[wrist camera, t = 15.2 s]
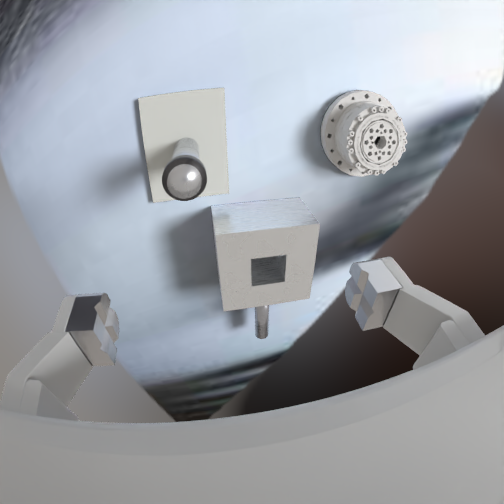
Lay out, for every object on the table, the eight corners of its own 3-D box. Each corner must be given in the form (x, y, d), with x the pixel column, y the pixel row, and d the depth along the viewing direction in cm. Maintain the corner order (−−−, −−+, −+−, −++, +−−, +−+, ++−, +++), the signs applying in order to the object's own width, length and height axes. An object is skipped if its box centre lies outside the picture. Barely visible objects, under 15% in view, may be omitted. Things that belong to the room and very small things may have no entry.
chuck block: (210, 205, 31) (215, 235, 26) (300, 197, 33) (319, 223, 28) (224, 323, 42) (229, 356, 38) (289, 313, 44) (301, 343, 39)
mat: (139, 97, 23) (138, 98, 23) (223, 87, 24) (224, 88, 24) (154, 200, 30) (153, 202, 29) (228, 191, 31) (229, 193, 30)
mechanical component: (319, 175, 32) (390, 169, 33) (335, 191, 28) (410, 184, 29) (318, 88, 26) (395, 92, 27) (337, 92, 22) (419, 99, 23)
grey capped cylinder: (168, 135, 25) (158, 164, 18) (201, 131, 26) (205, 158, 19) (171, 166, 27) (164, 206, 20) (204, 162, 28) (209, 200, 21)
